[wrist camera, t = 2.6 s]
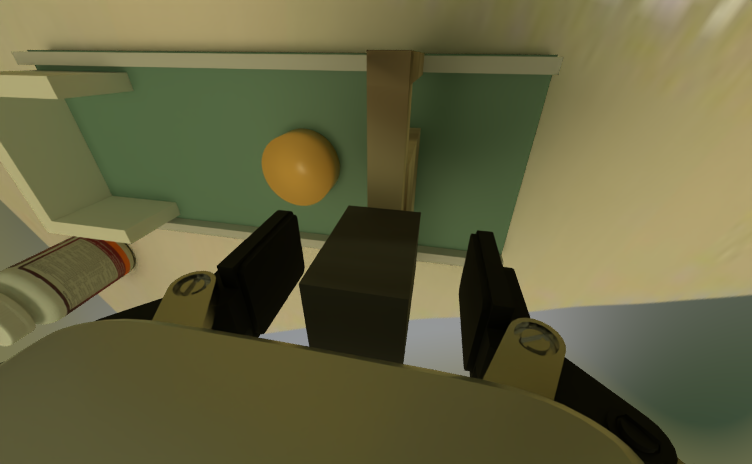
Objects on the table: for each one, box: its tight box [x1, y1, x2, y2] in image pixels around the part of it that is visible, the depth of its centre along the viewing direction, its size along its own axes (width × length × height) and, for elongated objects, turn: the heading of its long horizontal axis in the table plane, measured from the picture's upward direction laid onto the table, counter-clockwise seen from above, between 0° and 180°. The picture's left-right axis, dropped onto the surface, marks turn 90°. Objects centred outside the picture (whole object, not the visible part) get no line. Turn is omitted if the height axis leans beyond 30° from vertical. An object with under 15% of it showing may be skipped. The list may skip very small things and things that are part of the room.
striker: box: [299, 50, 425, 364], centre depth 14 cm, size 14×3×14 cm, turn 0°
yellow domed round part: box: [262, 128, 340, 206], centre depth 21 cm, size 5×5×2 cm
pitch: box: [0, 50, 564, 267], centre depth 21 cm, size 14×36×6 cm, turn 90°
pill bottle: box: [0, 236, 134, 346], centre depth 29 cm, size 6×6×11 cm
